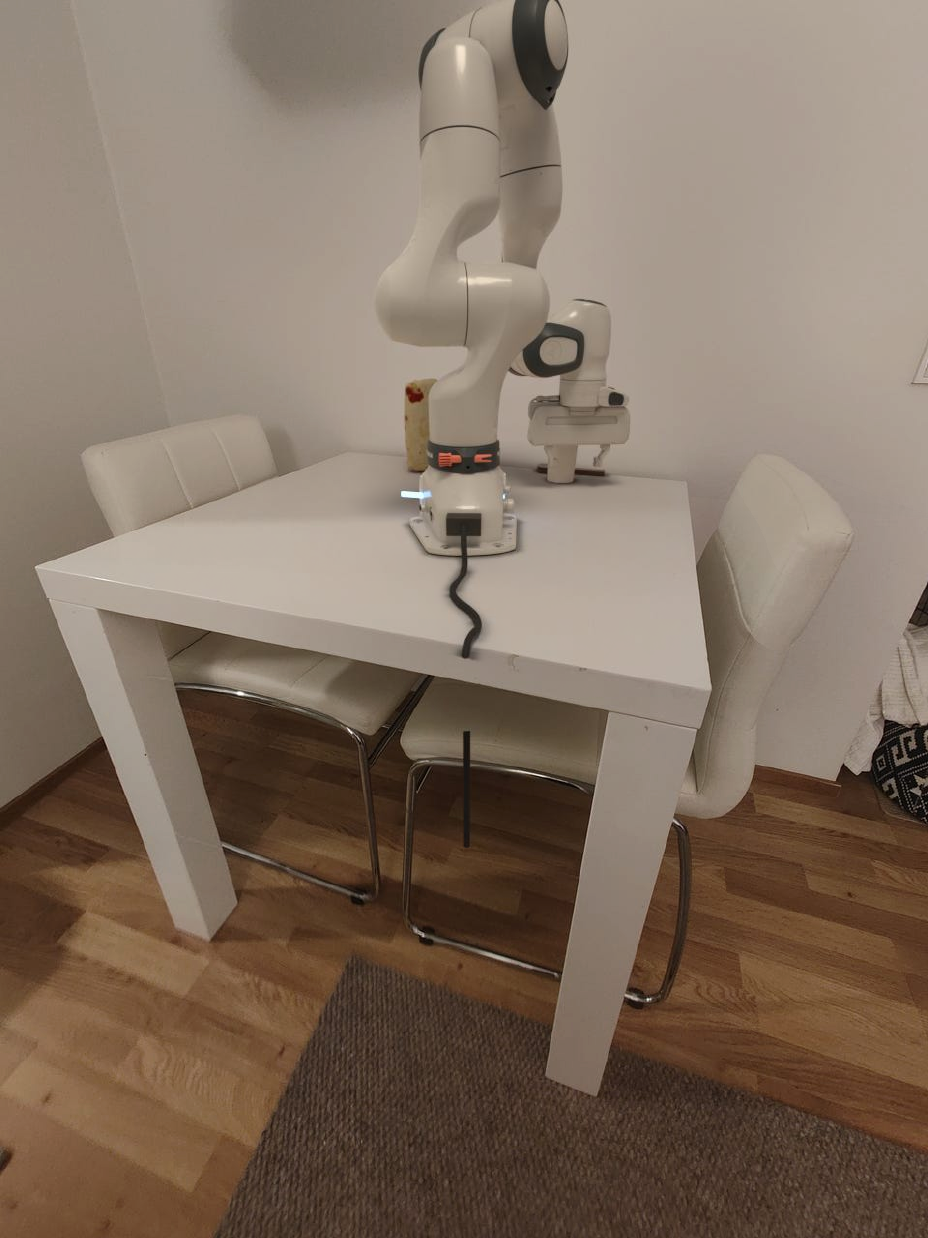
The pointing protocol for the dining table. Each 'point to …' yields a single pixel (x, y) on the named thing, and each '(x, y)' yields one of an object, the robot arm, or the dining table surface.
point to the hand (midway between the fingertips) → (575, 466)
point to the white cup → (563, 463)
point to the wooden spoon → (544, 469)
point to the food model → (417, 422)
